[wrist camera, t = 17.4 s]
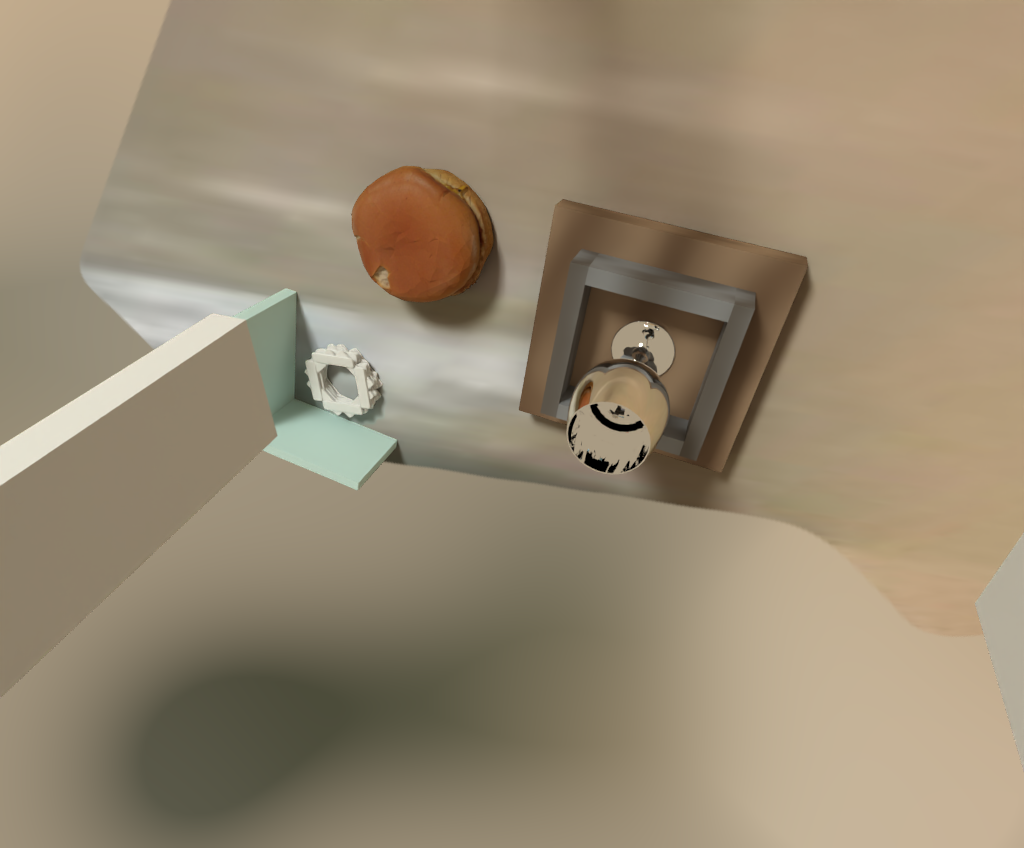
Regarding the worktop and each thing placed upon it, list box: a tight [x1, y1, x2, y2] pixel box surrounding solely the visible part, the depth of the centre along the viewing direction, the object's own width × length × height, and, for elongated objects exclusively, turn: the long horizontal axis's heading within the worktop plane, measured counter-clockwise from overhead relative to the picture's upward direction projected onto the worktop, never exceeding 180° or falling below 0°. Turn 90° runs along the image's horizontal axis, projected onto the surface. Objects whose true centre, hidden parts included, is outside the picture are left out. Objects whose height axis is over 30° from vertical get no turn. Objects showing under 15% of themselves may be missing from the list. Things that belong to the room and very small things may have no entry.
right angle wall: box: [233, 288, 397, 490], centre depth 54 cm, size 12×12×8 cm
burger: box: [352, 166, 493, 302], centre depth 45 cm, size 10×9×5 cm
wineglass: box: [566, 320, 675, 474], centre depth 39 cm, size 6×6×12 cm
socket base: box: [519, 199, 808, 473], centre depth 44 cm, size 16×16×5 cm
